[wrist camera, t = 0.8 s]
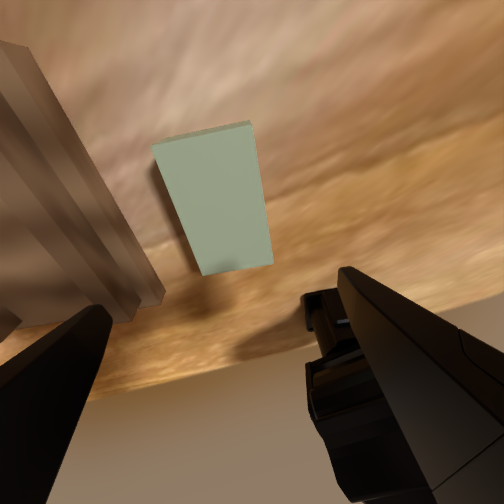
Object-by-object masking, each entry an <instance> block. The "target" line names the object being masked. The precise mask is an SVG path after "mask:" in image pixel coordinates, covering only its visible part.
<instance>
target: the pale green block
mask: <svg viewBox="0 0 504 504" xmlns="http://www.w3.org/2000/svg"><path fill="white" fill-rule="evenodd" d="M150 147H151V150H152V152H153V155H154V157H155V160H156V162H157V165H158V167H159V170H160V172H161V174H162V177H163V179H164V182H165V184H166V187H167V189H168V192H169V194H170V197H171V199H172V202H173V204H174V207H175V209H176V211H177V214H178V216H179V219H180V221H181V224H182V226H183V229H184V231H185V234H186V236H187V239H188V241H189V244H190V246H191V248H192V251H193V253H194V256H195V258H196V261H197V263H198V266H199V268H200V271H201V273H202V276H205V275H211V274H217V273H223V272H229V271H235V270H241V269H247V268H252V267H258V266H264V265H270V264H274V259H273V253H272V247H271V241H270V234H269V228H268V222H267V215H266V209H265V203H264V196H263V190H262V184H261V178H260V171H259V165H258V159H257V152H256V146H255V140H254V134H253V127H252V123H251V121H250V120H247V121H242V122H238V123H233V124H228V125H224V126H219V127H215V128H210V129H205V130H201V131H196V132H191V133H187V134H182V135H178V136H173V137H168V138H166V139H164V140H162V141H160V142H158V143H155V144H153V145H151V146H150Z"/></svg>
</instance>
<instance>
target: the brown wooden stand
mask: <svg viewBox="0 0 504 504" xmlns="http://www.w3.org/2000/svg"><path fill="white" fill-rule="evenodd" d="M165 292H166V290H165V288H164V287H163V285H162V283H161V281H160V280H159V278H158V276H157V274H156V273H155V271H154V269H153V267H152V265H151V264H150V262H149V260H148V258H147V257H146V255H145V253H144V251H143V250H142V248H141V246H140V244H139V243H138V241H137V239H136V237H135V236H134V234H133V232H132V230H131V229H130V227H129V225H128V223H127V221H126V220H125V218H124V216H123V214H122V213H121V211H120V209H119V207H118V206H117V204H116V202H115V200H114V199H113V197H112V195H111V193H110V192H109V190H108V188H107V186H106V184H105V183H104V181H103V179H102V177H101V176H100V174H99V172H98V170H97V169H96V167H95V165H94V163H93V162H92V160H91V158H90V156H89V155H88V153H87V151H86V149H85V148H84V146H83V144H82V142H81V140H80V139H79V137H78V135H77V133H76V132H75V130H74V128H73V126H72V125H71V123H70V121H69V119H68V118H67V116H66V114H65V112H64V111H63V109H62V107H61V105H60V103H59V102H58V100H57V98H56V96H55V95H54V93H53V91H52V89H51V88H50V86H49V84H48V82H47V81H46V79H45V77H44V75H43V74H42V72H41V70H40V68H39V67H38V65H37V63H36V61H35V59H34V58H33V56H32V54H31V52H30V51H29V49H28V47H24V46H20V45H16V44H12V43H8V42H4V41H1V40H0V343H1V342H2V341H3V340H4V339H5V338H6V337H7V336H8V335H9V334H10V333H11V332H12V331H13V330H15V329H21V328H27V327H33V326H39V325H45V324H51V323H57V322H63V321H66V320H68V319H69V318H71V317H72V316H74V315H75V314H77V313H78V312H79V311H81V310H82V309H84V308H85V307H87V306H89V305H93V304H102V305H103V306H104V307H105V309H106V310H107V311H108V312H109V314H110V315H111V316H112V318H113V324H118V323H124V322H130V321H132V319H133V317H134V315H135V313H136V311H137V309H140V308H145V307H151V306H157V305H161V302H162V300H163V297H164V295H165Z"/></svg>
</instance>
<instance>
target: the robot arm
mask: <svg viewBox="0 0 504 504" xmlns="http://www.w3.org/2000/svg"><path fill="white" fill-rule="evenodd" d="M337 287H338V289H332V290H326V291H320V292H314V293H308V294H306V295H305V296H304V304H305V316H306V328H307V331H309V332H312V331H314V332H315V335H316V338H317V341H318V345H319V348H320V350H321V354H322V358H320V359H318V360H315V361H313V362H308V363H306V364H305V369H306V387H307V402H308V411H309V414H310V417H311V420H312V421H313V423H314V425H315V427H316V429H317V431H318V433H319V434H320V436H321V437H322V438H323V440H324V443H325V446H326V448H327V451H328V454H329V457H330V460H331V464H332V467H333V470H334V473H335V477H336V480H337V483H338V485H339V487H340V488H341V490H342V491H343V493H344V494H345V495H346V497H347V498H348V500H349V501H350V502H351V503H356V502H361V501H362V502H363V503H364V504H504V353H503V352H501V351H499V350H497V349H496V348H494V347H492V346H490V345H488V344H486V343H485V342H483V341H481V340H479V339H477V338H476V337H474V336H472V335H470V334H469V333H467V332H465V331H464V330H462V329H458V328H457V327H456V326H454V325H453V324H451V323H449V322H448V321H446V320H444V319H442V318H441V317H439V316H437V315H435V314H434V313H432V312H430V311H428V310H427V309H425V308H423V307H421V306H420V305H418V304H416V303H415V302H413V301H411V300H409V299H408V298H406V297H404V296H402V295H401V294H399V293H397V292H395V291H394V290H392V289H390V288H388V287H387V286H385V285H383V284H381V283H380V282H378V281H376V280H374V279H373V278H371V277H369V276H367V275H366V274H364V273H362V272H361V271H359V270H357V269H355V268H354V267H351V266H347V267H341V268H339V270H338V281H337ZM112 325H113V318H112V316H111V315H110V314H109V312H108V311H107V310H106V309H105V307H104V306H103V305H102V304H93V305H89V306H87V307H85V308H84V309H82V310H81V311H79V312H78V313H77V314H75V315H74V316H72V317H71V318H69V319H68V320H66V321H65V322H64V323H62V324H61V325H59V326H58V327H56V328H55V329H53V330H52V331H51V332H49V333H48V334H46V335H45V336H43V337H42V338H40V339H39V340H37V341H36V342H35V343H33V344H32V345H30V346H29V347H27V348H26V349H24V350H23V351H22V352H20V353H19V354H17V355H16V356H14V357H13V358H11V359H10V360H9V361H7V362H6V363H4V364H3V365H1V366H0V504H46V502H47V500H48V497H49V494H50V492H51V489H52V487H53V484H54V482H55V479H56V477H57V474H58V472H59V469H60V467H61V464H62V461H63V459H64V456H65V454H66V451H67V449H68V446H69V444H70V441H71V439H72V436H73V434H74V431H75V429H76V426H77V423H78V421H79V418H80V416H81V413H82V411H83V408H84V406H85V403H86V401H87V398H88V396H89V393H90V390H91V388H92V385H93V383H94V380H95V378H96V375H97V373H98V370H99V368H100V365H101V362H102V359H103V356H104V352H105V349H106V345H107V342H108V339H109V335H110V332H111V328H112Z"/></svg>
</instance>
